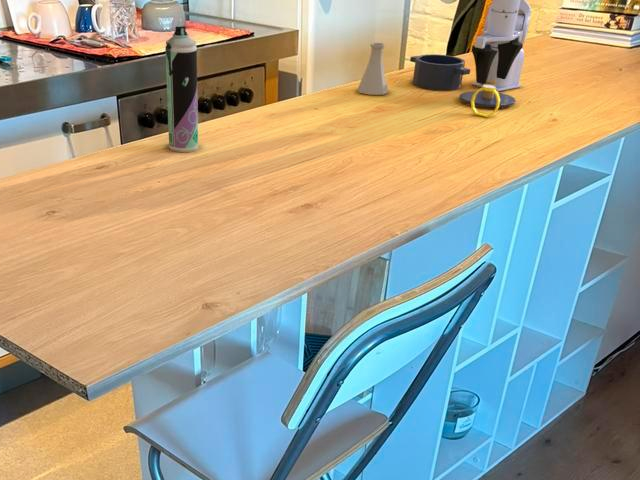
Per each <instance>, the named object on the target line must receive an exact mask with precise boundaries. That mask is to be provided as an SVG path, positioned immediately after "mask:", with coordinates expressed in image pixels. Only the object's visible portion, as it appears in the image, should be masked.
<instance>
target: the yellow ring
mask: <svg viewBox="0 0 640 480" xmlns="http://www.w3.org/2000/svg"><path fill="white" fill-rule="evenodd" d="M495 88H496V87H495V86H493V85H483V86H482V87H479V89H477V90H475V91H476V92H475V93H474V94H473V97H472V100H471V104H470V108H471V111H472V113H473V115H475V116H480V117H484V118H490V117H491V116H493V115H495V113H496V112H497V111H498V110H499V108H500V107H499V105H500V96H499V94H498V93H499V91H496V90H495ZM484 90H485V91H492V92H493V93H494V94H495V95H496V99H497V104H496V108H494V110H493V111H492V112H491V113H489V114H487V113H483V112H479V111H478V109H477V108H476V106H475V105H474V100H475V97H476V94H477V93H478V92H479V91H484Z"/></svg>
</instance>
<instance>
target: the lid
mask: <svg viewBox="0 0 640 480" xmlns="http://www.w3.org/2000/svg"><path fill="white" fill-rule="evenodd" d="M485 85H493V86H495V85H496V81H495V80H490V79H489V80H487V81H486V83H485ZM476 91H477V90H468V91H464V92H461V93H460V94H459V100H460V101H461V102H464V103H466V104H469V105H471V100H472V97H473V94H474V93H475V92H476ZM498 94H499V96H500V105H499V108H507V107H511V106H514V105H515V104H516V102H517V100H516V98H515V97H513V96H512V95H509V94H506V93H503V92H498ZM496 104H497V99H496V95H495V94H494V93H493V92H492V91H485V90H481V91H479V92H478V93H477V94H476V97H475V100H474V105H475V107H478V108H487V109H489V108H490V109H495V108H496Z"/></svg>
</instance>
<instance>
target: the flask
mask: <svg viewBox="0 0 640 480" xmlns="http://www.w3.org/2000/svg"><path fill="white" fill-rule="evenodd" d="M385 47H386V44H385V43H384V42H371V43H370V48H371V50H370V51H371V52H370V56H369V59H368V63H367V65H366V69H365V71H364V73H363V75H362V77H361V80H360V83H359V85H358V87H357V91H358V93H360V94H365V95H370V96H372V95H373V96H379V95H380V96H381V95H382V96H383V95H385V94H387V93H389V90H388V85H387V84H388V83H387V80H386V75H385V68H384V58H383V53H384V48H385Z"/></svg>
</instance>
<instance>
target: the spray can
mask: <svg viewBox="0 0 640 480" xmlns="http://www.w3.org/2000/svg"><path fill="white" fill-rule="evenodd" d="M174 29H175V31H174V33H172V36H171V37H170V38H169V39H167V40H166V41H165V47H164V48H165V74H166V96H167V97H166V99H167V101H166V102H167V124H168V126H167V127H168V128H167V129H168V147H169V150H171V151H173V152H176V153H191V152H195V151H197V150H199V113H198V112H199V109H198V108H199V106H198V105H199V104H198V47H197V41H196V40H194V39H192V38H191V37H190V35H189V33H188V32H187V29H186V25H182V26H175V28H174Z"/></svg>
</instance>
